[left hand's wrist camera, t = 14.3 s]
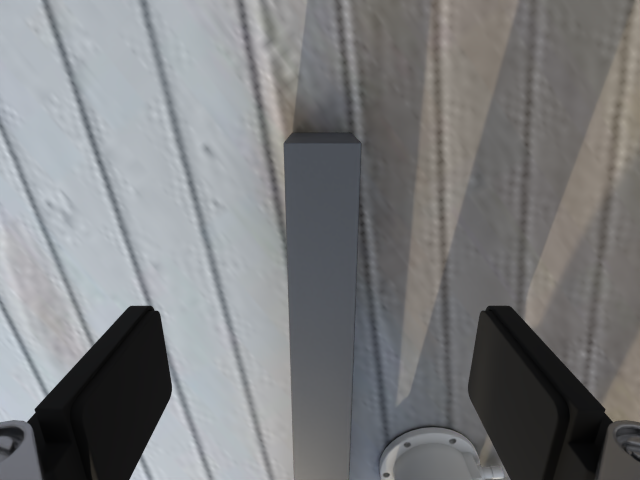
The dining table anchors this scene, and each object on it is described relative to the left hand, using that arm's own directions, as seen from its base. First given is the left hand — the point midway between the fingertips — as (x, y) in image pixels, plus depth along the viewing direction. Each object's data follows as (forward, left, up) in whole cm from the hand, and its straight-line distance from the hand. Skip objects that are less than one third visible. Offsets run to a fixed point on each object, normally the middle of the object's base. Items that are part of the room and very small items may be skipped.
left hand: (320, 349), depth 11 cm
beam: (+4, +37, -27) cm, 46 cm away
